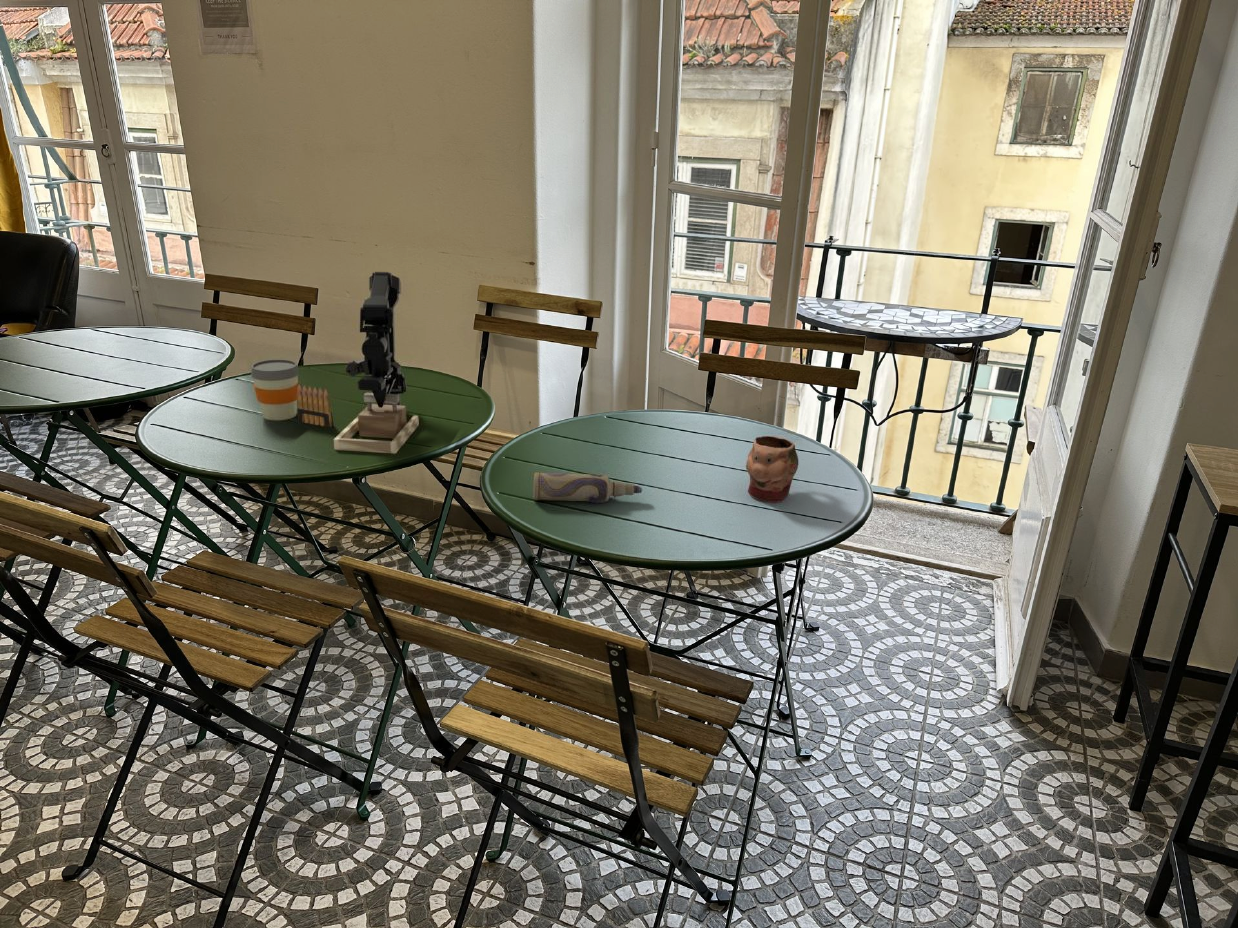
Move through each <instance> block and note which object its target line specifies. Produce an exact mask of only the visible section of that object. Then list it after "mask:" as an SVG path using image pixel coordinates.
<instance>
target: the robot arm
mask: <svg viewBox="0 0 1238 928" xmlns="http://www.w3.org/2000/svg"><path fill="white" fill-rule="evenodd" d="M368 279H369V280H368V281H369V282H368V283H369V284H368V285H369V288H368V289H369V291H370V296H369V297H368V298H366V299H364V301H363V304H362V307H360V308H359V309H360V311H359V313H360V314H359V317H360V318H359V332H360V333H365V339H364V340H363V343H362V345H361V353H362V354H363V356H364V357H363V358H360V359H357V360H352V361H351V362H350V361H349V362H347V363H346V365H345V372H346V373H347V374H348V375H349V377H351V378H352V377H355V376H357V375H360V374H364V376H362V378H361V379H360V380H358V381H357V390H358V391H371V393H373V395H374V397H375V400H376V402H377V403H376V404H377V405H378V407H379V408H382V407H383V405H392V404H390V403H384V402H385V398H386V395H387V394H396V395H399V402H398V403H397V405H400V406H402V404H401V394H404V393H407V392H408V391H407V379H406V378H405V376H404V373H402V365H401V364H400V363H399V362H398V361H397V360H396V340H395V338H396V337H395V334H396V333H395V308H396V306H397V304H398V303H399V301H400V294H402V282H401V280H400V279H401V278H400V277H398V276H395V275H393V274H392V272H389V271H374V272H372V273H371V276H369V278H368Z"/></svg>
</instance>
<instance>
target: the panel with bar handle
mask: <svg viewBox="0 0 1238 928" xmlns="http://www.w3.org/2000/svg"><path fill="white" fill-rule="evenodd" d="M363 401H364V403H366V407H365V408H364V409H363V410H362V411H360V412H359V414H357V417H358V421H359V430H358V433H359V437H366V438H384V439H394V438H395V437H396V436H397V435H398V434H399V432H400V431H401V430H402V429H403V428H404V427H405V425H406V424H407V423H408V422H407V408H406V407H407V405H401V406H400V405H397V403H398V402H399V395H396V394H387V395H386V398H385V402H384V403H390V404H392V405H383V407H382V408H379V407H378V405H377V402H376V400H375V397H374V395H373V392H365V393H364V394H363Z"/></svg>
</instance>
